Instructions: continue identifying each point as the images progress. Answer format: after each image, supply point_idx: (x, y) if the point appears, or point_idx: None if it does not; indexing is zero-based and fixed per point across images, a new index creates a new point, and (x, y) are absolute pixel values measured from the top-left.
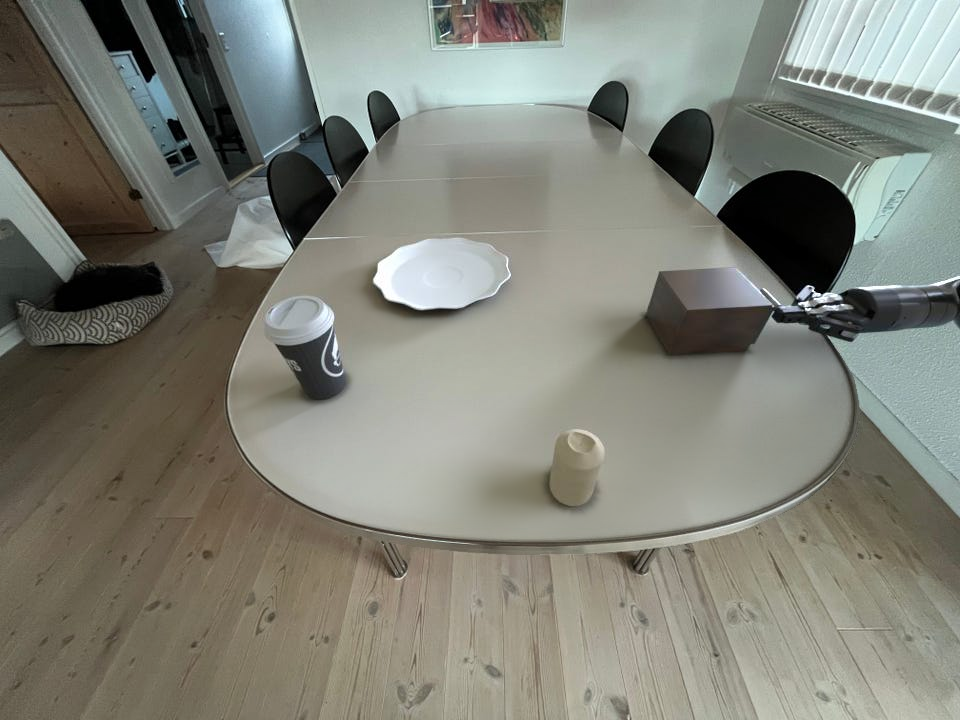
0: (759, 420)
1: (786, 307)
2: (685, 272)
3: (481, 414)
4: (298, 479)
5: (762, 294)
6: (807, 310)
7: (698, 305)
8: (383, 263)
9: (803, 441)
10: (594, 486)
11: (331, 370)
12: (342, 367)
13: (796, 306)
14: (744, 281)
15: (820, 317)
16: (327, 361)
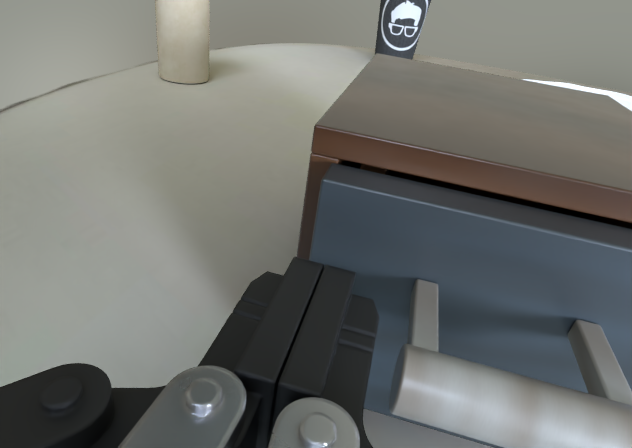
0: (58, 210)
1: (337, 306)
2: (621, 114)
3: (314, 81)
4: (299, 45)
5: (468, 212)
6: (219, 385)
7: (391, 63)
8: (618, 96)
9: None
10: (160, 55)
11: (384, 28)
12: (397, 45)
13: (322, 375)
14: (583, 170)
15: (62, 381)
16: (385, 14)
